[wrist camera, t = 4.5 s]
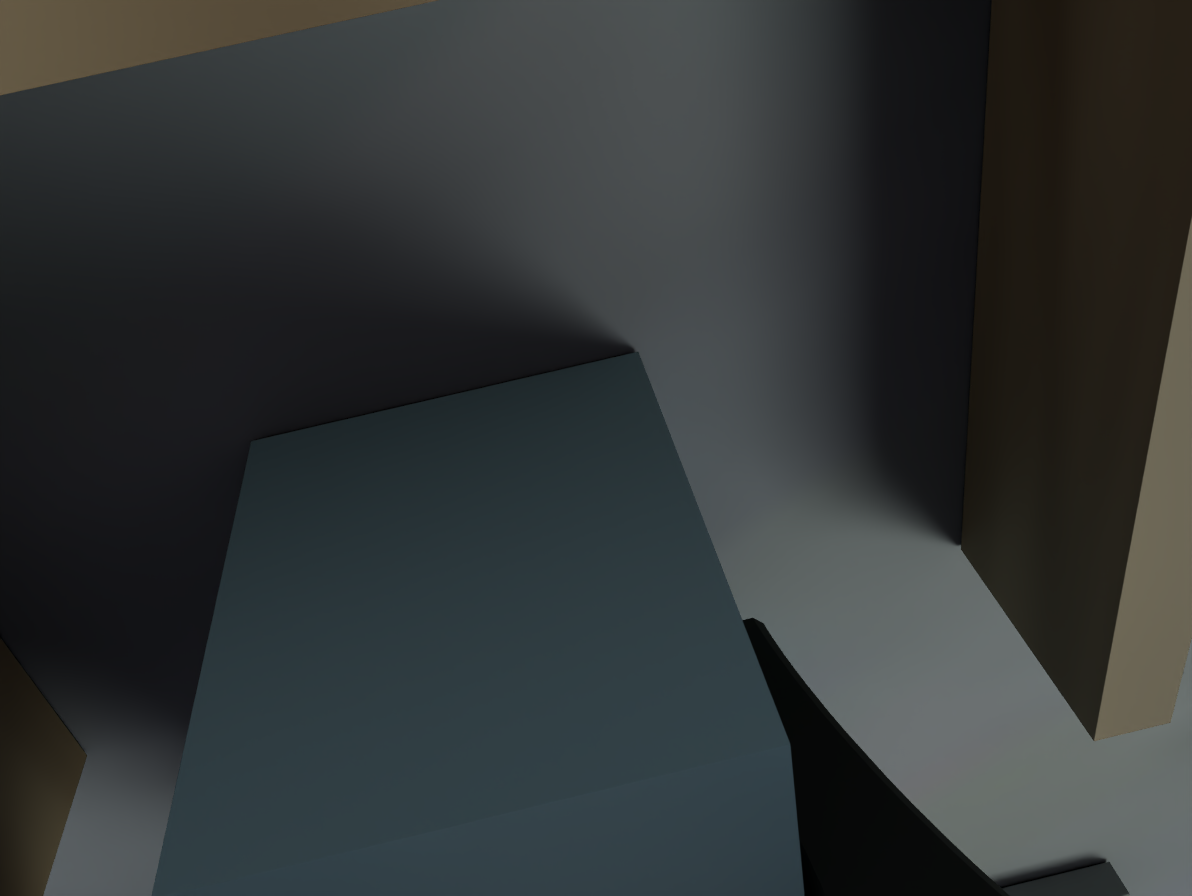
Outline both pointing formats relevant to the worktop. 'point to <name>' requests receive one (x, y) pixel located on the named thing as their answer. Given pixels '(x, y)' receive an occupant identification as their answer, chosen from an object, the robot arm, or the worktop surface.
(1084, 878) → the mat
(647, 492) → the block
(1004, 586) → the arch frame
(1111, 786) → the worktop surface
